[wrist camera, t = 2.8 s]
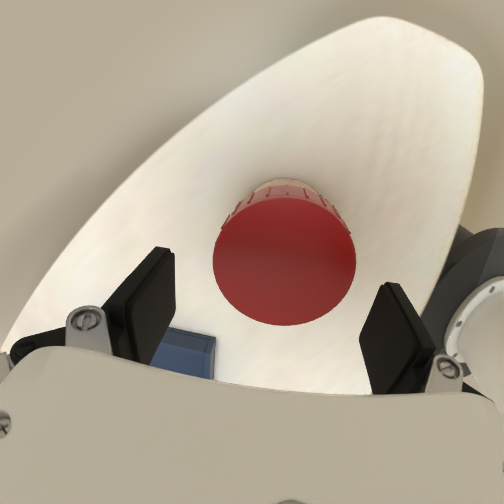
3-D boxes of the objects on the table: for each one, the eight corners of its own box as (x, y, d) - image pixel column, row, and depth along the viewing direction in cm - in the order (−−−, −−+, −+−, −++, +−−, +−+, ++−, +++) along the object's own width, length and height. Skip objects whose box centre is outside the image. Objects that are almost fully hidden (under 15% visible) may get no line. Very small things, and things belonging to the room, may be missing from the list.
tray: (215, 337, 26) (210, 353, 24) (212, 394, 31) (208, 409, 29) (100, 308, 27) (90, 321, 25) (116, 368, 31) (109, 380, 29)
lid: (359, 197, 14) (374, 212, 12) (329, 305, 17) (334, 334, 15) (229, 175, 14) (217, 185, 12) (218, 288, 18) (208, 314, 15)
